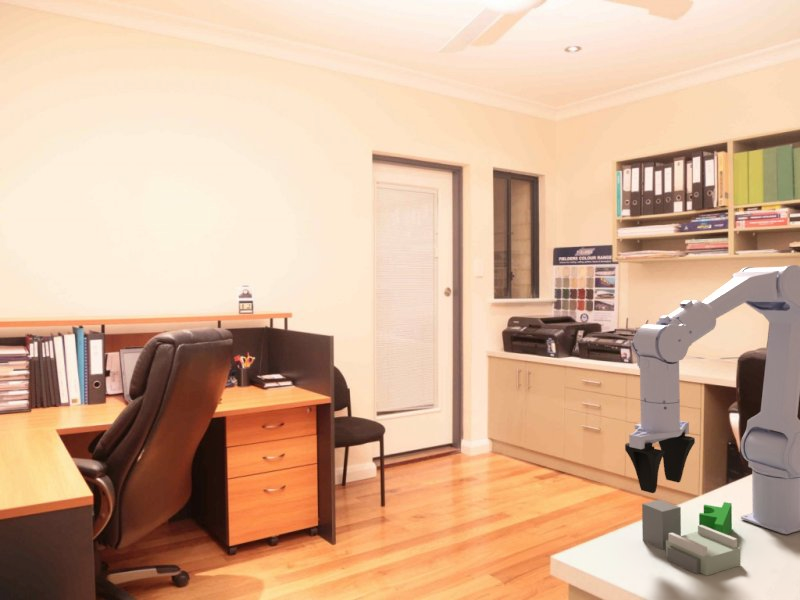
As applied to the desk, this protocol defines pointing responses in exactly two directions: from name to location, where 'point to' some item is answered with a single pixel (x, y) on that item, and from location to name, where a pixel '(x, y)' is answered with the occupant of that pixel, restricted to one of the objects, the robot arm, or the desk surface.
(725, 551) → the pale grey-green blocky piece
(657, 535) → the dark grey block
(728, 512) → the pipe clamp
